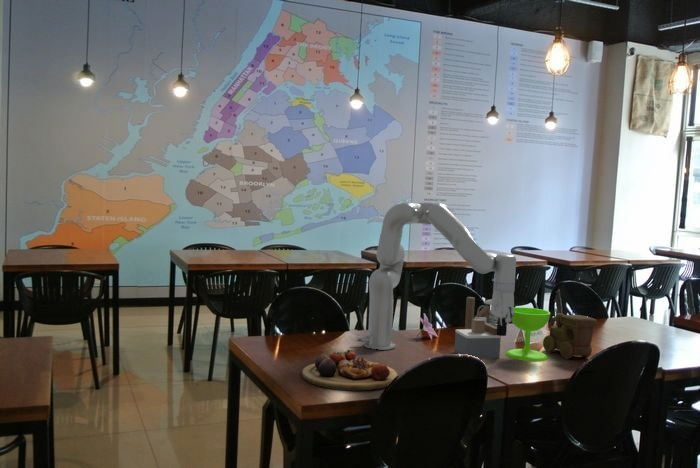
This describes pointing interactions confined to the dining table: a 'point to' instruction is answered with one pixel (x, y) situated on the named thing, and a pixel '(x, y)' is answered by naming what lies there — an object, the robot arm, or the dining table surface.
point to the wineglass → (528, 332)
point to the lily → (427, 326)
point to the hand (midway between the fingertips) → (501, 335)
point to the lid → (476, 330)
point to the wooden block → (470, 312)
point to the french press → (494, 320)
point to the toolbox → (478, 346)
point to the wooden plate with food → (348, 372)
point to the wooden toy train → (571, 336)
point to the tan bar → (490, 328)
